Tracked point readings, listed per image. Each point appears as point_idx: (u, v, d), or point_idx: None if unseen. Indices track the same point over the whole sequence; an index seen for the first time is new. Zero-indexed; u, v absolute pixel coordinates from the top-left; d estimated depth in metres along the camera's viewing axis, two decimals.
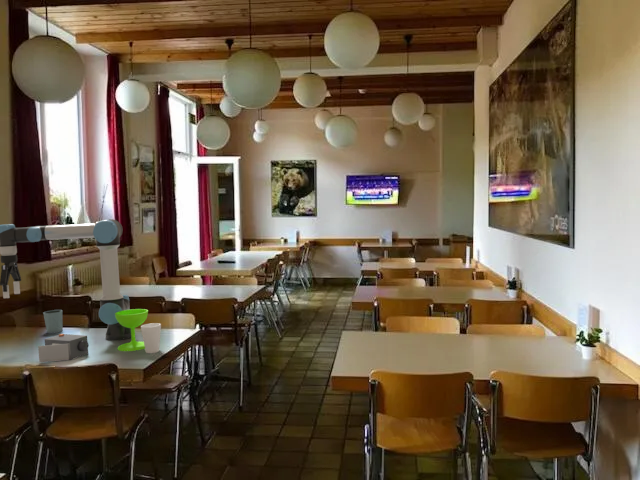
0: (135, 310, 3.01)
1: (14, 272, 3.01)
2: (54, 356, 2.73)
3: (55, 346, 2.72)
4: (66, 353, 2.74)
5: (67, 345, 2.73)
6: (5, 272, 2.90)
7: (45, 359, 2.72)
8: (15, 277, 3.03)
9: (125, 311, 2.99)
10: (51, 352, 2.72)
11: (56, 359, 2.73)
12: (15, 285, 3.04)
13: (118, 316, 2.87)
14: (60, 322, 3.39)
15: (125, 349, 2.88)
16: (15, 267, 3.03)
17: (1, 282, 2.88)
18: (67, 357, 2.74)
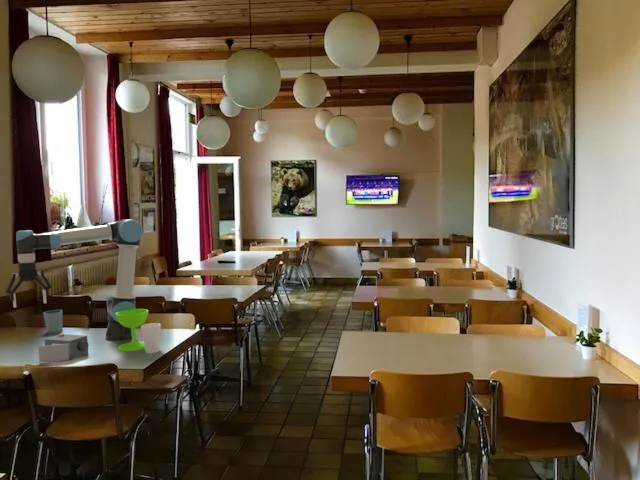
0: (136, 310, 3.01)
1: (35, 280, 2.86)
2: (54, 356, 2.73)
3: (55, 346, 2.72)
4: (66, 353, 2.74)
5: (67, 345, 2.73)
6: (11, 281, 2.79)
7: (45, 359, 2.72)
8: (41, 286, 2.88)
9: (126, 311, 2.99)
10: (51, 352, 2.72)
11: (56, 359, 2.73)
12: (43, 294, 2.89)
13: (118, 316, 2.88)
14: (60, 322, 3.39)
15: (125, 349, 2.88)
16: (41, 275, 2.88)
17: (6, 290, 2.79)
18: (67, 357, 2.74)
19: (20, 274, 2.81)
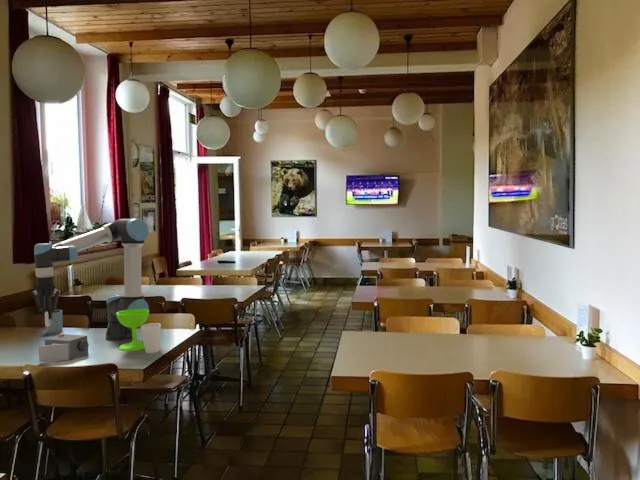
0: (137, 310, 3.01)
1: None
2: (54, 356, 2.73)
3: (55, 346, 2.72)
4: (66, 353, 2.74)
5: (67, 345, 2.73)
6: None
7: (45, 359, 2.72)
8: None
9: (127, 311, 3.00)
10: (51, 352, 2.72)
11: (56, 359, 2.73)
12: None
13: (118, 316, 2.88)
14: (60, 322, 3.39)
15: (125, 349, 2.88)
16: (55, 294, 2.74)
17: None
18: (67, 357, 2.74)
19: (37, 289, 2.72)
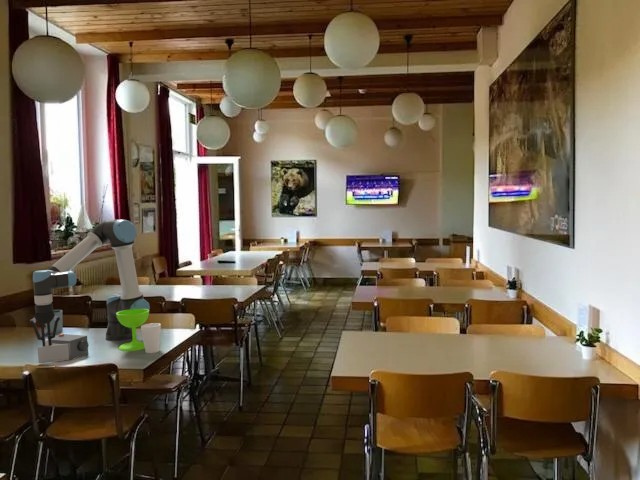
0: (137, 310, 3.01)
1: (47, 325, 2.71)
2: (54, 356, 2.72)
3: (55, 346, 2.72)
4: (66, 353, 2.73)
5: (67, 345, 2.73)
6: None
7: (45, 360, 2.70)
8: None
9: (127, 311, 3.00)
10: (50, 353, 2.71)
11: (56, 359, 2.72)
12: None
13: (118, 316, 2.88)
14: (60, 322, 3.39)
15: (125, 349, 2.88)
16: (55, 321, 2.73)
17: (37, 337, 2.71)
18: (67, 357, 2.74)
19: (36, 317, 2.69)
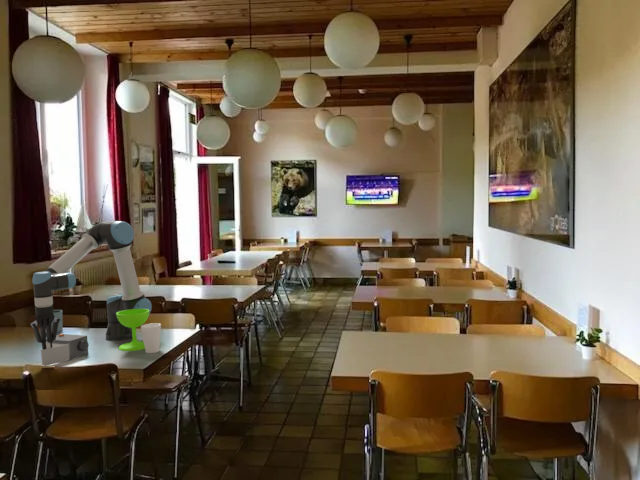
0: (137, 310, 3.01)
1: (48, 327, 2.66)
2: (56, 358, 2.69)
3: (57, 348, 2.69)
4: (67, 353, 2.73)
5: (68, 345, 2.73)
6: (35, 331, 2.62)
7: (48, 362, 2.66)
8: (48, 335, 2.67)
9: (127, 311, 3.00)
10: (53, 354, 2.68)
11: (58, 361, 2.69)
12: None
13: (118, 316, 2.88)
14: (60, 322, 3.39)
15: (125, 349, 2.88)
16: (55, 323, 2.69)
17: (37, 341, 2.64)
18: (68, 357, 2.73)
19: (38, 320, 2.63)
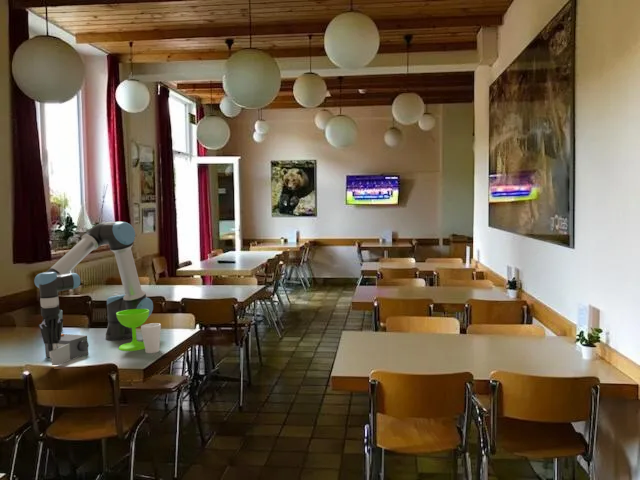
0: (137, 310, 3.01)
1: (54, 328, 2.65)
2: (62, 358, 2.68)
3: (62, 348, 2.68)
4: (68, 353, 2.73)
5: (69, 345, 2.73)
6: (44, 332, 2.59)
7: (57, 363, 2.64)
8: (53, 336, 2.65)
9: (127, 311, 3.00)
10: (60, 355, 2.66)
11: (63, 361, 2.69)
12: None
13: (118, 316, 2.88)
14: None
15: (125, 349, 2.88)
16: (59, 323, 2.68)
17: (45, 342, 2.61)
18: (69, 357, 2.73)
19: (46, 321, 2.60)
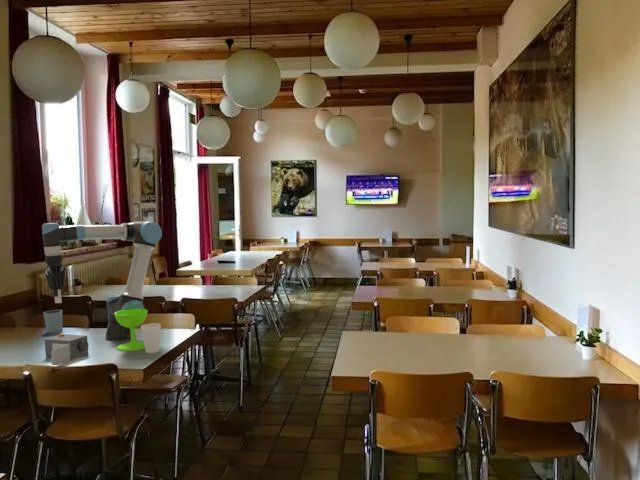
0: (134, 310, 3.01)
1: (58, 275, 2.83)
2: (62, 358, 2.68)
3: (62, 348, 2.68)
4: (68, 353, 2.73)
5: (69, 345, 2.73)
6: (50, 278, 2.78)
7: (57, 363, 2.64)
8: (57, 282, 2.84)
9: (124, 311, 2.99)
10: (60, 355, 2.66)
11: (63, 361, 2.69)
12: None
13: (118, 316, 2.87)
14: (60, 322, 3.39)
15: (125, 349, 2.88)
16: (62, 271, 2.87)
17: (50, 288, 2.80)
18: (69, 357, 2.73)
19: (51, 267, 2.79)
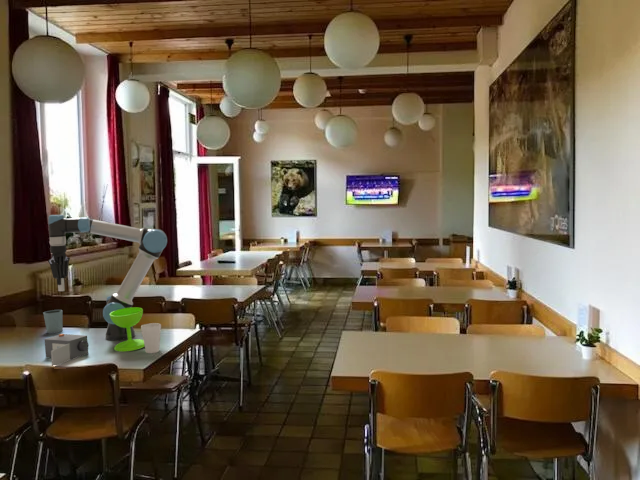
0: (127, 309, 2.99)
1: (62, 264, 2.98)
2: (62, 358, 2.68)
3: (62, 348, 2.68)
4: (68, 353, 2.73)
5: (69, 345, 2.73)
6: (53, 266, 2.93)
7: (57, 363, 2.64)
8: (61, 271, 2.98)
9: (117, 311, 2.96)
10: (60, 355, 2.66)
11: (63, 361, 2.69)
12: None
13: (115, 317, 2.85)
14: (60, 322, 3.39)
15: (124, 349, 2.87)
16: (66, 261, 3.01)
17: (54, 276, 2.95)
18: (69, 357, 2.73)
19: (55, 257, 2.94)
